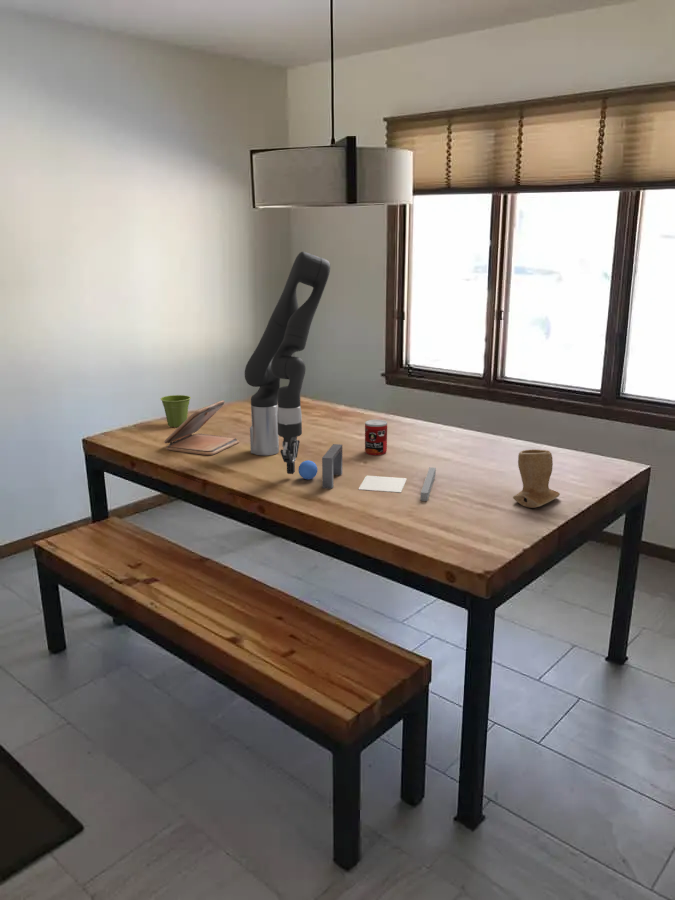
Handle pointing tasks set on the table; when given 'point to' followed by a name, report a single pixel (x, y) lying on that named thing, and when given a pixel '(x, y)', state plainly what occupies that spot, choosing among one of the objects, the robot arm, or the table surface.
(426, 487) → the wall
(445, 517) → the table surface
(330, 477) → the bridge
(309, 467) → the ball
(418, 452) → the table surface
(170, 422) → the plant pot
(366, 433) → the canned food
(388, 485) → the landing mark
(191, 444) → the case
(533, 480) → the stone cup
